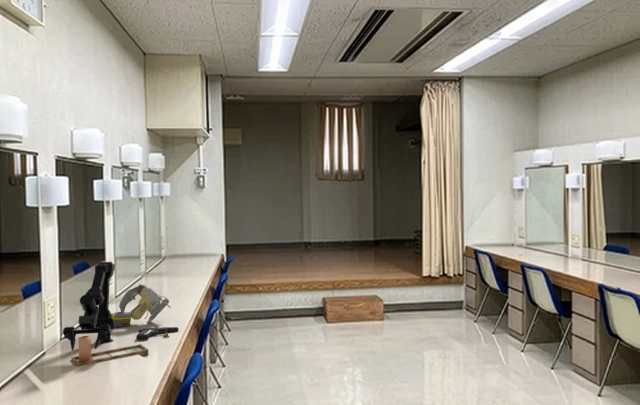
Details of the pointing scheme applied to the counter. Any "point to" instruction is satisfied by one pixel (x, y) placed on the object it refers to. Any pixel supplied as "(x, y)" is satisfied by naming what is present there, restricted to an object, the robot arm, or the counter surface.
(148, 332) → the pistol
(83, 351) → the smooth tapered peach-colored object
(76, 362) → the box
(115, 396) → the counter surface
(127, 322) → the circular saw
